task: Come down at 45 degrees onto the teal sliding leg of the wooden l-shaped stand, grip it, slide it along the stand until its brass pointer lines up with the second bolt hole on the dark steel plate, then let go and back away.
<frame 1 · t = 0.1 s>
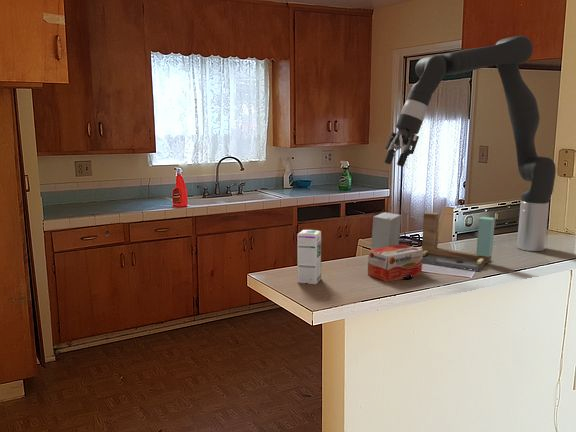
hand: (393, 164, 174), 31 cm above the countertop, tool tilted 20°, fingers open, 8 cm apart
skincare box: (384, 263, 175), on the countertop
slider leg: (483, 240, 171), point 8 cm above the countertop, slide at 6.0 cm
flange plate: (450, 260, 179), on the countertop
wooden l-shaped stand: (455, 259, 180), resting on flange plate
syrup box: (309, 281, 155), on the countertop
medicine box: (394, 276, 162), on the countertop
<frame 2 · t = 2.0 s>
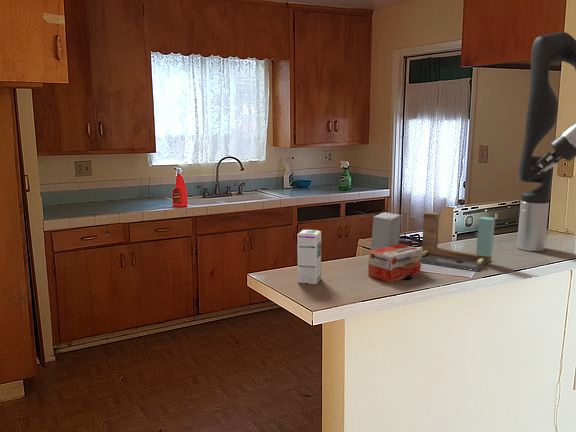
hand: (528, 178, 165), 28 cm above the countertop, tool tilted 45°, fingers open, 8 cm apart
nothing on the countertop moved.
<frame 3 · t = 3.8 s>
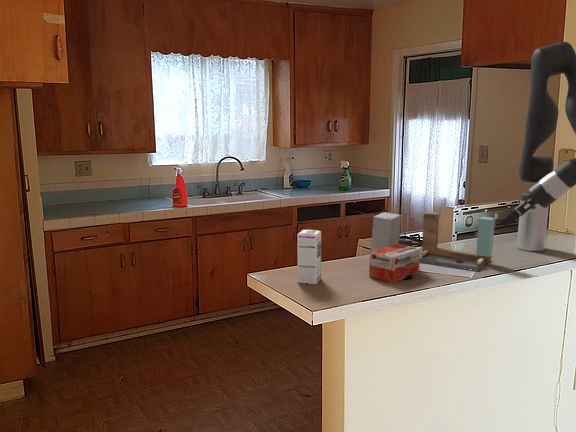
hand: (505, 222, 169), 14 cm above the countertop, tool tilted 45°, fingers open, 8 cm apart
nothing on the countertop moved.
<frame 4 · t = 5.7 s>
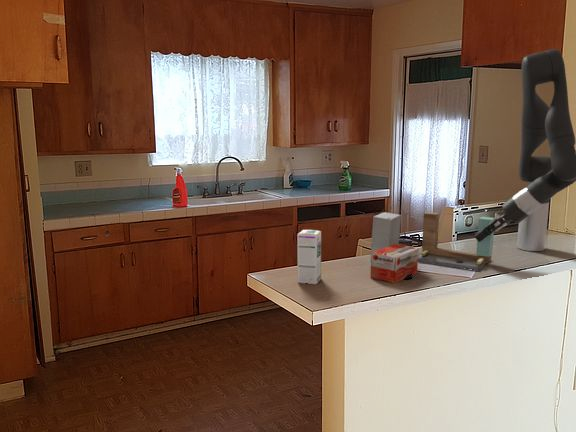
hand: (479, 238, 174), 8 cm above the countertop, tool tilted 45°, fingers closed on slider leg, 4 cm apart
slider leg: (483, 240, 171), point 8 cm above the countertop, slide at 6.0 cm, touching gripper
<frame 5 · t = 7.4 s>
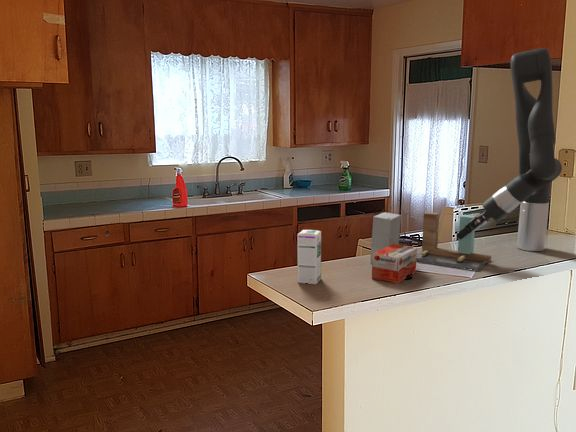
hand: (460, 235, 178), 8 cm above the countertop, tool tilted 45°, fingers closed on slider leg, 4 cm apart
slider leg: (464, 237, 175), point 8 cm above the countertop, slide at 0.1 cm, touching gripper
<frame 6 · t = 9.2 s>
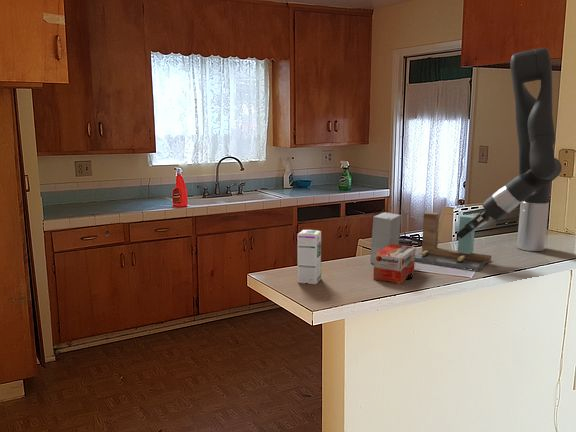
hand: (462, 233, 177), 9 cm above the countertop, tool tilted 45°, fingers open, 8 cm apart
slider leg: (464, 237, 175), point 8 cm above the countertop, slide at 0.0 cm
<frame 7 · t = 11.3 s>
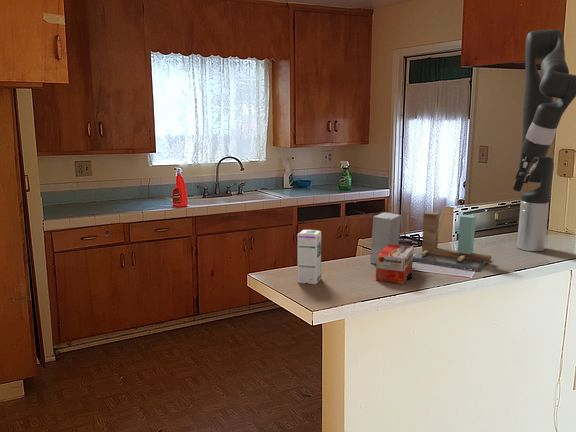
hand: (520, 186, 171), 25 cm above the countertop, tool tilted 20°, fingers open, 8 cm apart
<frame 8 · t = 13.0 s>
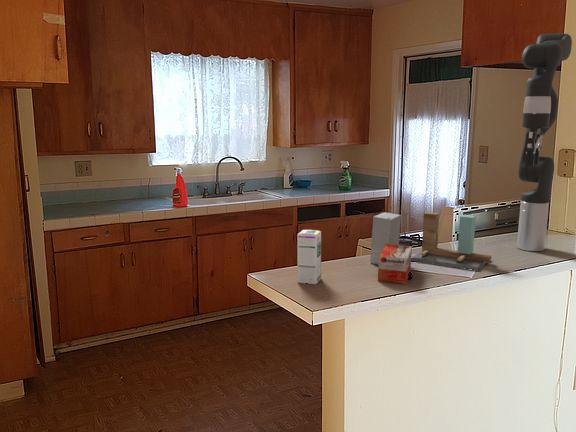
hand: (531, 165, 167), 32 cm above the countertop, tool pointing down, fingers open, 8 cm apart
at the end: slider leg slide at 0.0 cm; the gripper is holding nothing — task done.
